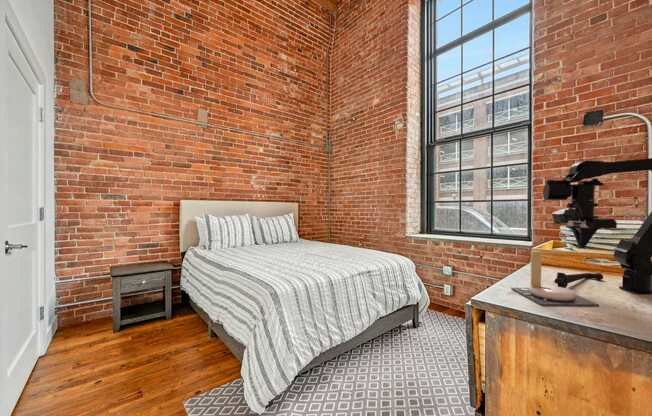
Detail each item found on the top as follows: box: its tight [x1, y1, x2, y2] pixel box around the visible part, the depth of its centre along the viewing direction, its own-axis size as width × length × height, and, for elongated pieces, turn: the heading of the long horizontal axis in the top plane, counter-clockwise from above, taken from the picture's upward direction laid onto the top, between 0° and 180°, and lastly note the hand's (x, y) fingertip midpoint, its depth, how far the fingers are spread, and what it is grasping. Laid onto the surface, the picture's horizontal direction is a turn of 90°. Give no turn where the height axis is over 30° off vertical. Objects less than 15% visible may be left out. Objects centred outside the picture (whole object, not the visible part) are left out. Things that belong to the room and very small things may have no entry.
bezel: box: [510, 287, 600, 307], centre depth 89 cm, size 15×15×1 cm
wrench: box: [553, 272, 604, 288], centre depth 100 cm, size 5×5×30 cm
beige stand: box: [528, 250, 576, 301], centre depth 89 cm, size 11×11×12 cm
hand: (581, 247), depth 98 cm, fingers closed
